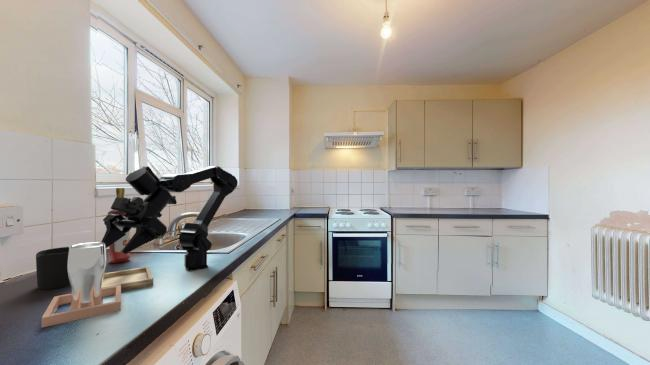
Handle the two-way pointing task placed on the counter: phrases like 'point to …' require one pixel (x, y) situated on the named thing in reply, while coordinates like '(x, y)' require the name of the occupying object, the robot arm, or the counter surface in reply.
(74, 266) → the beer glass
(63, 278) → the pen holder
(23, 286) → the counter surface
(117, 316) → the counter surface
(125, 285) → the tray
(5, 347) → the counter surface
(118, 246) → the red and white bottle
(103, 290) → the brown square frame
